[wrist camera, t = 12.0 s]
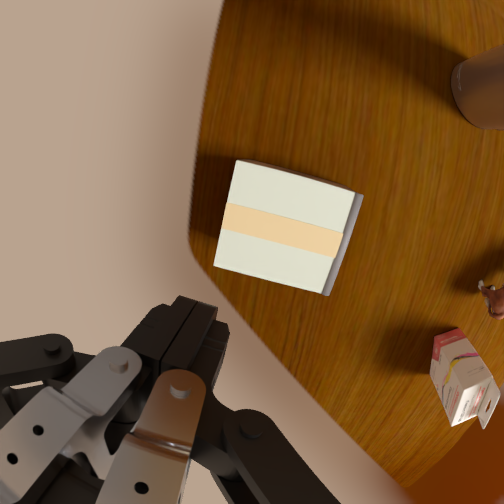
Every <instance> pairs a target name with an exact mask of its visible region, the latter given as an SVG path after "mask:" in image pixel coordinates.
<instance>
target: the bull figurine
mask: <svg viewBox="0 0 504 504" xmlns="http://www.w3.org/2000/svg"><path fill="white" fill-rule="evenodd" d="M478 288H479V289H480V290H481V292H482V295H483V296H486V297H488V298H485V303H486V306H487V307H488V309H489V310H488V312H489V315H490V316H491V317H493V318H496V319H498V320H500V319H502V318H504V283H503V284H502V287H501V288H500V289H498V290H495V286H491V288H490V289H487V288H485V287H484V283H483V280H480V281H479V285H478ZM491 307H492V312H493V313H491Z"/></svg>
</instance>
